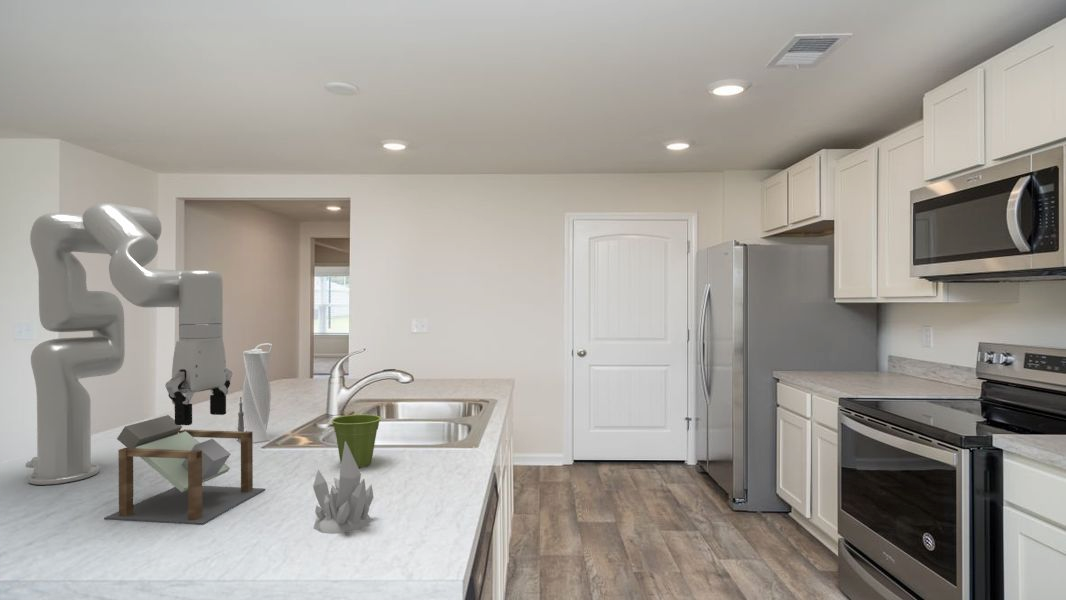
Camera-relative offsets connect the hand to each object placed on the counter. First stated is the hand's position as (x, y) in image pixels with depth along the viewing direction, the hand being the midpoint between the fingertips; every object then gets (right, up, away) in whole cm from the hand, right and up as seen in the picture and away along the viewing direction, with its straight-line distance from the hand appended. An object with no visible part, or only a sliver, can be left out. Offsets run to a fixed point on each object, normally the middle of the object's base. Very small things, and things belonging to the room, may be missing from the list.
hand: (201, 419), depth 115 cm
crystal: (+31, -17, -9) cm, 36 cm away
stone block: (-1, -10, 0) cm, 10 cm away
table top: (-2, -17, 0) cm, 17 cm away
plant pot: (+22, -17, +27) cm, 39 cm away
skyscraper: (-14, -17, +51) cm, 56 cm away
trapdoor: (-7, -8, +1) cm, 10 cm away
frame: (-3, -17, 0) cm, 17 cm away
